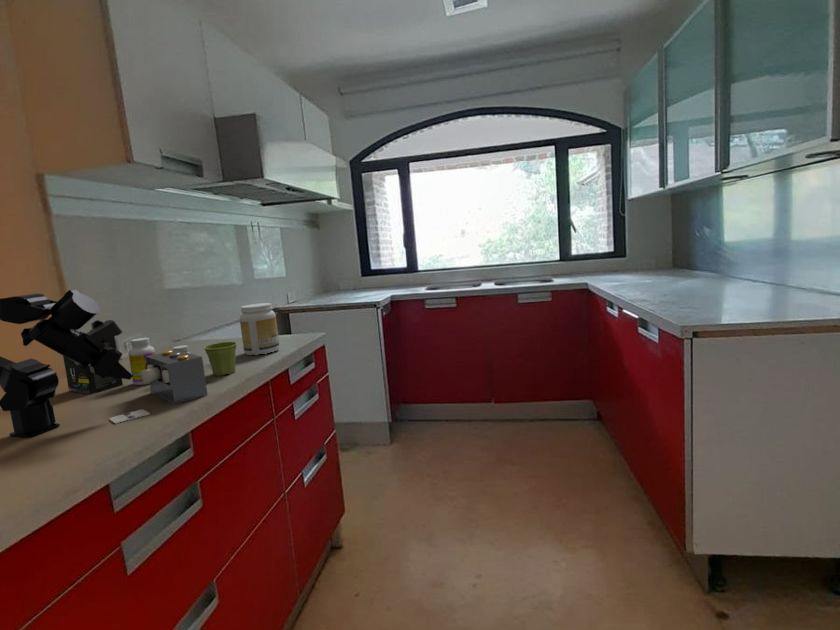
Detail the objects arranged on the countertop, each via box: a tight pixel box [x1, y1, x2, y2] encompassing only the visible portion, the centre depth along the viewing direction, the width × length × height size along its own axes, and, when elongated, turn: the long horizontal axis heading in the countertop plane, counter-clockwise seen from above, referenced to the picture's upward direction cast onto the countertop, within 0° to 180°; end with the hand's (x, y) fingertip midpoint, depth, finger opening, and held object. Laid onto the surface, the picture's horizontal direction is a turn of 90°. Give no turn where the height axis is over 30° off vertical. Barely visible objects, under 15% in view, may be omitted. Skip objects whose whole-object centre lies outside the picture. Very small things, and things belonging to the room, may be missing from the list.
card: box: [108, 409, 151, 425], centre depth 111 cm, size 7×5×1 cm
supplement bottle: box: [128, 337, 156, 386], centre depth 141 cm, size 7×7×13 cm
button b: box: [141, 367, 161, 383], centre depth 122 cm, size 4×3×3 cm
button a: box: [162, 369, 170, 383], centre depth 120 cm, size 4×3×3 cm
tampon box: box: [62, 336, 124, 395], centre depth 138 cm, size 11×9×15 cm
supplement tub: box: [239, 302, 281, 356], centre depth 172 cm, size 12×12×17 cm
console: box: [145, 350, 208, 405], centre depth 126 cm, size 8×17×11 cm, turn 46°
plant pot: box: [203, 341, 238, 377], centre depth 145 cm, size 9×9×9 cm
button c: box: [147, 364, 161, 373], centre depth 128 cm, size 4×3×3 cm
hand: (131, 377), depth 114 cm, fingers closed
